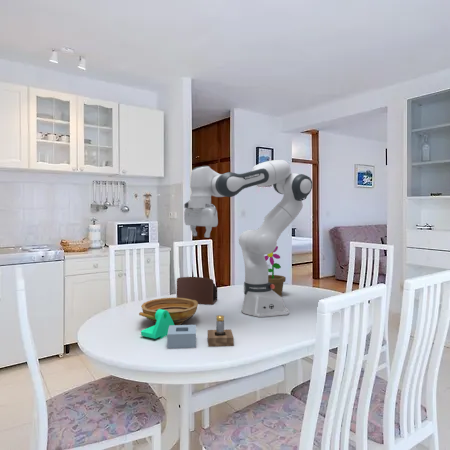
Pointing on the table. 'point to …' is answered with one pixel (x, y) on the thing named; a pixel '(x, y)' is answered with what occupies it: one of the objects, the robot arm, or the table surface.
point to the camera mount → (159, 325)
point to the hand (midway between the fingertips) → (200, 236)
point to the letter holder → (197, 289)
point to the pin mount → (220, 338)
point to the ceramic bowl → (170, 308)
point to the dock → (181, 336)
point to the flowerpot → (275, 279)
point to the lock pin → (219, 325)
